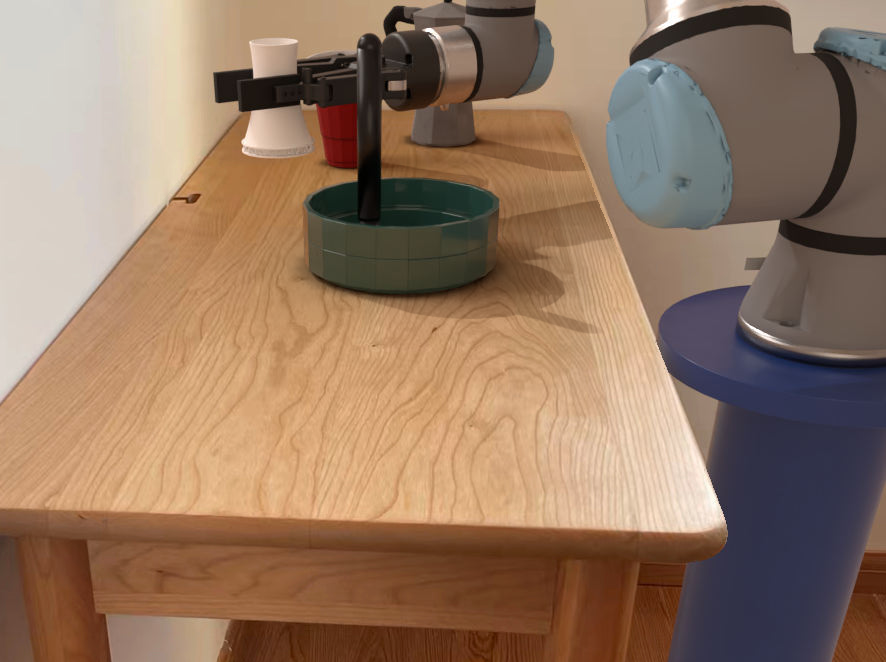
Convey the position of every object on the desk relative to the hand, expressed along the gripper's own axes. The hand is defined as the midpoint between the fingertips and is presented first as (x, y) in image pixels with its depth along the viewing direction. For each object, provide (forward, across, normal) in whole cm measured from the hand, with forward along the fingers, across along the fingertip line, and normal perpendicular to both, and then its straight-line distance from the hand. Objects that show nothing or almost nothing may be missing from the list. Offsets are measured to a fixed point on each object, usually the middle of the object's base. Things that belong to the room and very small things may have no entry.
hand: (227, 92), depth 111 cm
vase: (-5, 0, -6) cm, 8 cm away
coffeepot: (-43, +25, -14) cm, 51 cm away
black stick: (-5, -18, -12) cm, 22 cm away
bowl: (-8, -20, -13) cm, 25 cm away
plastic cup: (-26, +20, -14) cm, 35 cm away
